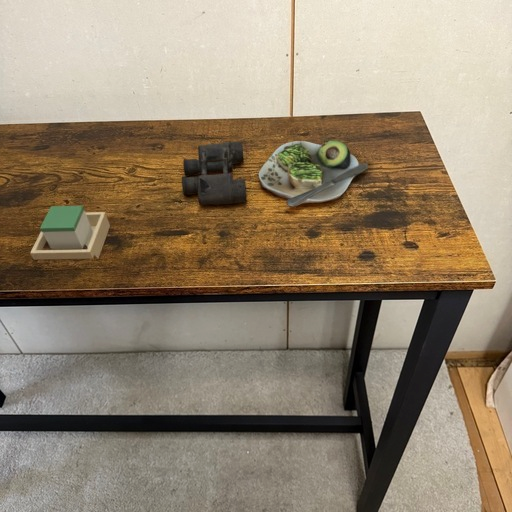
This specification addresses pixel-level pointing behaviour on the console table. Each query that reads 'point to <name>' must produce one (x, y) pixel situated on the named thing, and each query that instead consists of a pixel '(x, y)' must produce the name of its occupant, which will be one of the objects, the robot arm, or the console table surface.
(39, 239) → the tray
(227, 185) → the binoculars
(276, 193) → the salad plate
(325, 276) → the console table surface
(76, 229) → the container
